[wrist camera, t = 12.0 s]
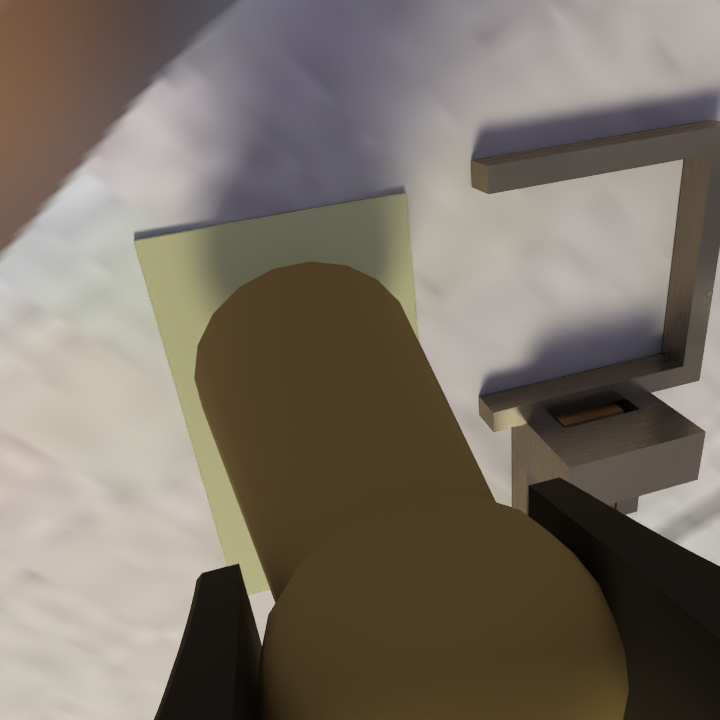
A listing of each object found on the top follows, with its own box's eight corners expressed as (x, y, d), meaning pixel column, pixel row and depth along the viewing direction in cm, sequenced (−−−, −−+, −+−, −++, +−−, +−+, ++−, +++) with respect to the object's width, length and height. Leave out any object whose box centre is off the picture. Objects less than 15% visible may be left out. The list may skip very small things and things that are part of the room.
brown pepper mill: (285, 493, 19) (410, 965, 9) (142, 359, 15) (115, 880, 6) (450, 375, 18) (750, 745, 9) (338, 213, 15) (629, 529, 6)
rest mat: (404, 192, 19) (406, 193, 19) (433, 540, 25) (434, 543, 25) (134, 239, 17) (133, 241, 17) (236, 594, 24) (236, 598, 24)
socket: (709, 120, 20) (819, 131, 17) (661, 481, 27) (733, 543, 24) (471, 160, 19) (536, 181, 15) (483, 531, 26) (530, 605, 22)
